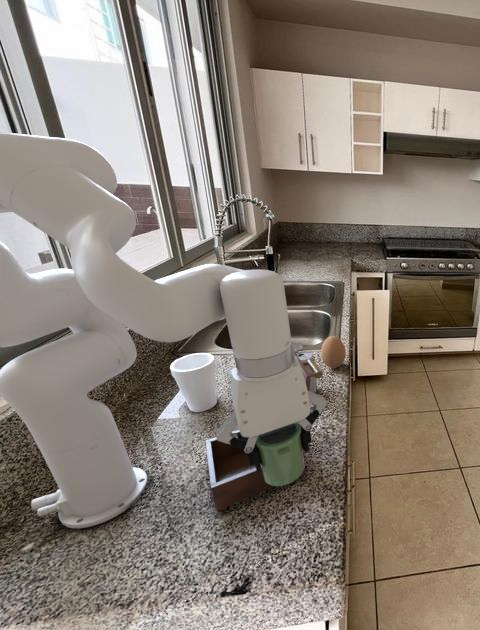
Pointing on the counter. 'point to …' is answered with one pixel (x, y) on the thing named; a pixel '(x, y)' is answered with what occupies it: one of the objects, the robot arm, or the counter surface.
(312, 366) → the lid
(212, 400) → the foam cup
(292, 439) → the pot
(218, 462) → the chest
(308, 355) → the energy drink
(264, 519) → the counter surface
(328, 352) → the egg
